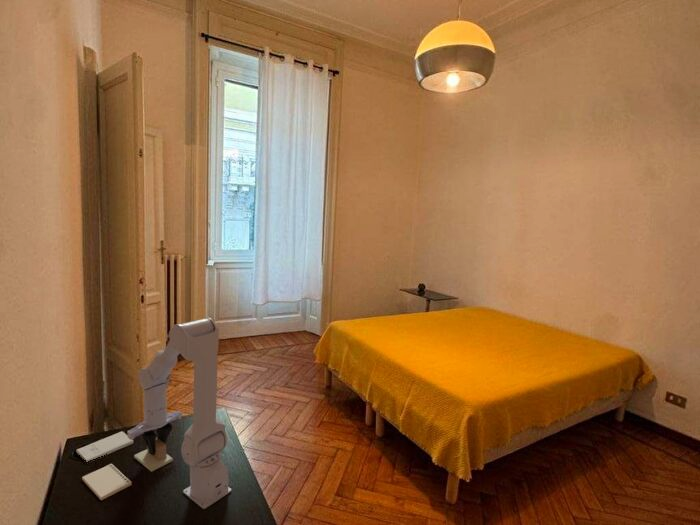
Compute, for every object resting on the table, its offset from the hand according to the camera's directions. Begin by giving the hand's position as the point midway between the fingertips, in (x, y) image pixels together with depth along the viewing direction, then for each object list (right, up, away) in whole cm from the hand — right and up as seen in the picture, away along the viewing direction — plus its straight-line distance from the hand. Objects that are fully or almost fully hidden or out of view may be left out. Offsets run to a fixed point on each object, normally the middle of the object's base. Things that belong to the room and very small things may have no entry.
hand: (156, 451), depth 108 cm
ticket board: (-8, -3, -10) cm, 13 cm away
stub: (-1, -2, -1) cm, 2 cm away
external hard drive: (-18, -2, +5) cm, 19 cm away
